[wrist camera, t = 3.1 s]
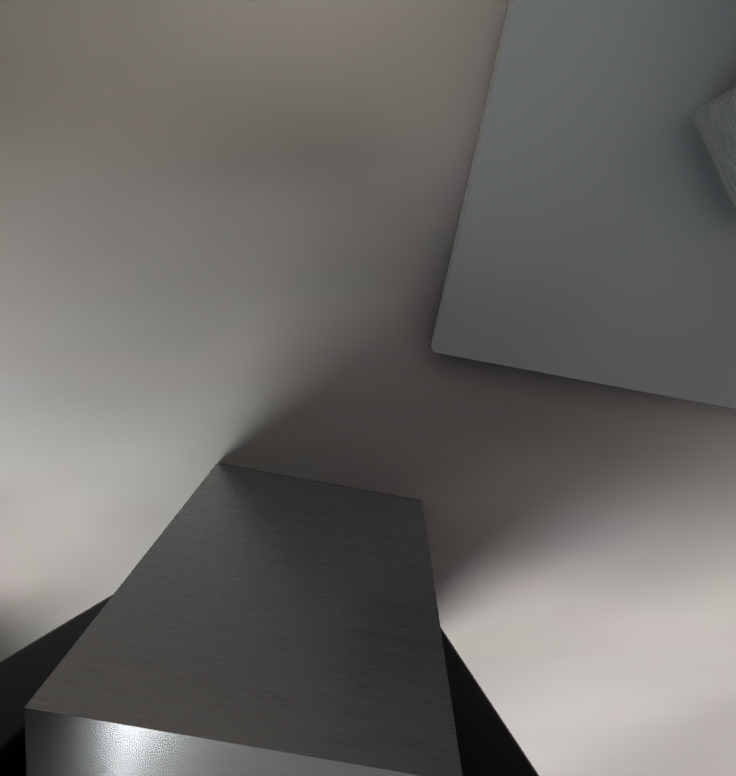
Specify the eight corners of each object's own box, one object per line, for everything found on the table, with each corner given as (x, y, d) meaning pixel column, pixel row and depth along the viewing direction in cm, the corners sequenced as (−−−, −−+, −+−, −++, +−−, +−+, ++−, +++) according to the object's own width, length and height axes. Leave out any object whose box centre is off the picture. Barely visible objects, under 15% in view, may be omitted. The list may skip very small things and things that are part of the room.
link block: (200, 629, 10) (26, 985, 5) (217, 463, 9) (15, 718, 4) (382, 661, 10) (380, 1042, 5) (421, 501, 9) (466, 795, 4)
